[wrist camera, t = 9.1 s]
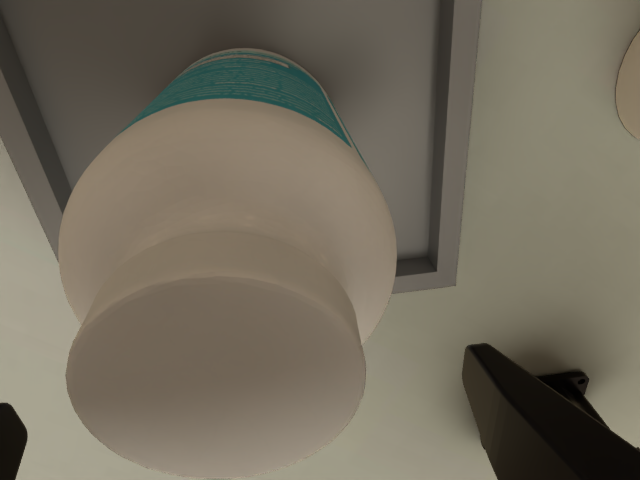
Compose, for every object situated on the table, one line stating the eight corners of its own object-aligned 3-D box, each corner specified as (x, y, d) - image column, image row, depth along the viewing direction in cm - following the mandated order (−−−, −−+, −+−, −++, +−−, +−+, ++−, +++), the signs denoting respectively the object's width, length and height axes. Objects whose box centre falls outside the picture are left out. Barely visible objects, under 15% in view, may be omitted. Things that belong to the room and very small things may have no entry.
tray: (468, -112, 15) (493, -125, 14) (442, 264, 23) (455, 285, 22) (-54, -67, 15) (-97, -75, 13) (104, 305, 23) (90, 331, 21)
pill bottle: (124, 138, 18) (-154, 412, 6) (246, -1, 16) (173, 16, 4) (257, 246, 21) (239, 563, 9) (373, 142, 19) (535, 379, 7)
